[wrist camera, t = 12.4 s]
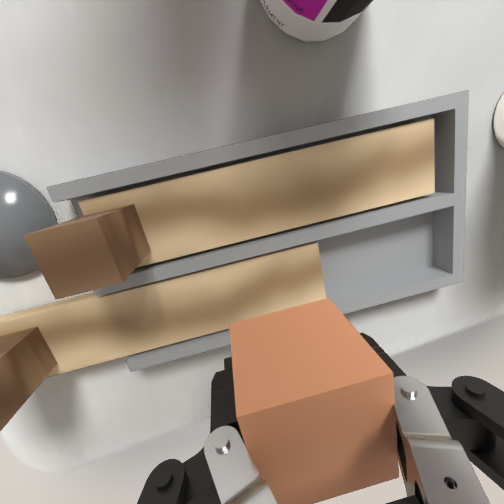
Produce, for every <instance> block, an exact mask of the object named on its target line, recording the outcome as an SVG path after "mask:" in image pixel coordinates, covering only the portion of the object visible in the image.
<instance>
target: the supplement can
mask: <svg viewBox="0 0 504 504" xmlns="http://www.w3.org/2000/svg"><path fill="white" fill-rule="evenodd" d="M260 1H261V3H262V5H263V7H264V9H265V11H266V13H267V15H268V17H269V18H270V19H271V20H272V21H273V22H274V23H275V24H276V25H277V26H278V27H279V28H280V29H281V30H282V31H283V32H284V33H286V34H288V35H291V36H293V37H295V38H298V39H300V40H303V41H326V40H328V39H330V38H332V37H334V36H336V35H338V34H340V33H343V32H344V31H345V30H346V29H347V28H348V27H349V26H350V25H351V24H352V23H353V22H354V21H355V20H356V19H357V18H358V17H359V15H360V14H361V13H362V12H363V11H364V10H365V9H366V8H367V7H368V5H369V4H370V3H371V2H372V1H373V0H260Z"/></svg>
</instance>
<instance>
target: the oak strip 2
mask: <svg viewBox="0 0 504 504" xmlns="http://www.w3.org/2000/svg"><path fill="white" fill-rule="evenodd" d="M322 299H326V293H325V287H324V280H323V273H322V267H321V260H320V254H319V247H318V242H317V241H313V242H309V243H305V244H301V245H297V246H293V247H289V248H285V249H281V250H277V251H273V252H270V253H266V254H262V255H258V256H254V257H250V258H246V259H242V260H238V261H234V262H230V263H226V264H222V265H218V266H214V267H211V268H207V269H203V270H199V271H195V272H191V273H187V274H183V275H179V276H175V277H171V278H167V279H163V280H159V281H156V282H152V283H148V284H144V285H140V286H136V287H132V288H128V289H124V290H120V291H116V292H112V293H108V294H104V295H100V296H97V297H96V295H95V293H90V294H86V295H82V296H78V297H75V298H71V299H67V300H63V301H59V302H55V303H51V304H47V305H43V306H39V307H35V308H31V309H27V310H23V311H19V312H15V313H11V314H7V315H3V316H0V431H1V430H2V429H3V428H4V426H5V425H6V424H7V423H8V422H9V420H10V419H11V418H12V417H13V416H14V415H15V413H16V412H17V411H18V410H19V409H20V407H21V406H22V405H23V404H24V403H25V401H26V400H27V399H28V398H29V397H30V396H31V394H32V393H33V392H34V391H35V390H36V388H37V387H38V386H39V385H40V384H41V382H42V381H43V380H44V379H45V378H46V377H50V376H54V375H57V374H61V373H65V372H69V371H72V370H76V369H80V368H84V367H87V366H91V365H95V364H99V363H102V362H106V361H110V360H113V359H117V358H121V357H125V356H128V355H132V354H136V353H140V352H143V351H147V350H151V349H155V348H158V347H162V346H166V345H170V344H173V343H177V342H181V341H184V340H188V339H192V338H196V337H199V336H203V335H207V334H211V333H214V332H218V331H222V330H226V329H229V324H231V323H235V322H239V321H243V320H246V319H250V318H254V317H258V316H261V315H265V314H269V313H273V312H277V311H280V310H284V309H288V308H292V307H295V306H299V305H303V304H307V303H311V302H314V301H318V300H322Z"/></svg>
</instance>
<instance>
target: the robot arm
mask: <svg viewBox="0 0 504 504" xmlns="http://www.w3.org/2000/svg"><path fill="white" fill-rule="evenodd" d="M360 335H361V336H362V337H363V338H364V339H365V340H366V342H367V343H368V344H369V345H370V346H371V347H372V349H373V350H374V351H375V352H376V353H377V354H378V355H379V357H380V358H381V359H382V360H383V361H384V362H385V364H386V365H387V366H388V367H389V368H390V369H391V370H392V372H393V375H394V394H395V404H394V415H395V418H396V431H397V445H396V453H397V458H398V461H399V465H400V469H401V473H402V476H403V480H404V484H405V488H406V492H407V497H406V498H403V499H399V500H396V501H393V502H390V503H386V504H490V502H489V500H488V498H487V496H486V494H485V492H484V490H483V488H482V486H481V483H480V481H479V480H478V477H477V475H476V473H475V471H474V469H473V467H472V465H471V463H470V461H471V462H472V463H473V464H474V465H476V466H477V467H478V468H479V469H480V470H481V471H482V472H484V473H485V474H486V475H487V476H488V477H489V478H491V479H492V480H493V481H494V482H495V483H496V484H497V485H499V486H500V487H501V488H502V489H503V490H504V392H503V391H502V390H500V389H498V388H497V387H495V386H493V385H491V384H490V383H488V382H486V381H484V380H482V379H479V378H476V377H472V376H460V377H457V378H455V379H454V380H453V382H452V387H431V386H426V385H425V384H424V383H422V382H421V381H419V380H418V379H416V378H413V377H410V376H406V374H405V373H404V372H403V371H402V370H401V369H400V368H399V367H398V366H397V365H396V364H395V362H394V361H393V360H392V359H391V358H390V357H389V356H388V355H387V354H386V353H385V352H384V350H383V349H382V348H381V347H379V345H378V344H377V343H376V342H375V341H374V339H373V338H371V337H369V336H368V335H366V334H364V333H360ZM224 368H225V370H223V371H219V372H216V374H215V376H214V378H213V380H212V387H211V392H212V393H211V429H210V435H209V436H208V438H207V440H206V442H205V445H204V447H203V449H202V450H201V451H200V452H199V453H198V454H196V455H195V456H193V457H192V458H190V459H188V460H187V461H185V462H184V463H181V462H180V461H179V460H176V459H169V460H166V461H164V462H162V463H160V464H159V465H158V466H157V467H156V468H155V469H154V470H153V471H152V472H151V474H150V475H149V477H148V479H147V481H146V483H145V486H144V488H143V491H142V493H141V496H140V498H139V500H138V503H137V504H277V502H276V500H275V498H274V496H273V494H272V492H271V490H270V488H269V487H268V485H267V483H266V481H265V480H264V479H262V478H261V476H260V474H259V472H258V470H257V468H256V466H255V464H254V462H253V460H252V458H251V456H250V454H249V453H248V451H247V448H246V445H245V442H244V439H243V436H242V433H241V430H240V427H239V424H238V421H237V418H236V406H235V393H234V380H233V368H232V357H229V358H225V359H224ZM469 460H470V461H469Z"/></svg>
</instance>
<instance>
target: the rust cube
mask: <svg viewBox="0 0 504 504" xmlns="http://www.w3.org/2000/svg"><path fill="white" fill-rule="evenodd" d="M229 330H230V342H231V355H232V368H233V380H234V393H235V406H236V418H237V421H238V424H239V427H240V430H241V433H242V436H243V439H244V442H245V445H246V448H247V451H248V453H249V454H250V456H251V458H252V460H253V462H254V464H255V466H256V468H257V470H258V472H259V474H260V476H261V478H262V479H264V480H265V481H266V483H267V485H268V487H269V488H270V490H271V492H272V494H273V496H274V498H275V500H276V502H277V504H314V503H317V502H320V501H324V500H327V499H330V498H333V497H336V496H339V495H343V494H346V493H350V492H353V491H356V490H359V489H363V488H366V487H369V486H372V485H375V484H379V483H382V482H385V481H389V480H392V479H395V478H398V477H399V468H398V458H397V453H396V445H397V431H396V418H395V415H394V404H395V394H394V375H393V372H392V370H391V369H390V368H389V367H388V366H387V365H386V364H385V362H384V361H383V360H382V359H381V358H380V357H379V355H378V354H377V353H376V352H375V351H374V350H373V349H372V347H371V346H370V345H369V344H368V343H367V342H366V340H365V339H364V338H363V337H362V336H361V335H360V334H359V332H358V331H357V330H356V329H355V328H354V327H353V325H352V324H351V323H350V322H349V321H348V320H347V318H346V317H345V316H344V315H343V314H342V313H341V312H340V310H339V309H338V308H337V307H336V306H335V305H334V303H333V302H332V301H331V300H330V299H329V298H326V299H322V300H318V301H314V302H311V303H307V304H303V305H299V306H295V307H292V308H288V309H284V310H280V311H277V312H273V313H269V314H265V315H261V316H258V317H254V318H250V319H246V320H243V321H239V322H235V323H231V324H229Z"/></svg>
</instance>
